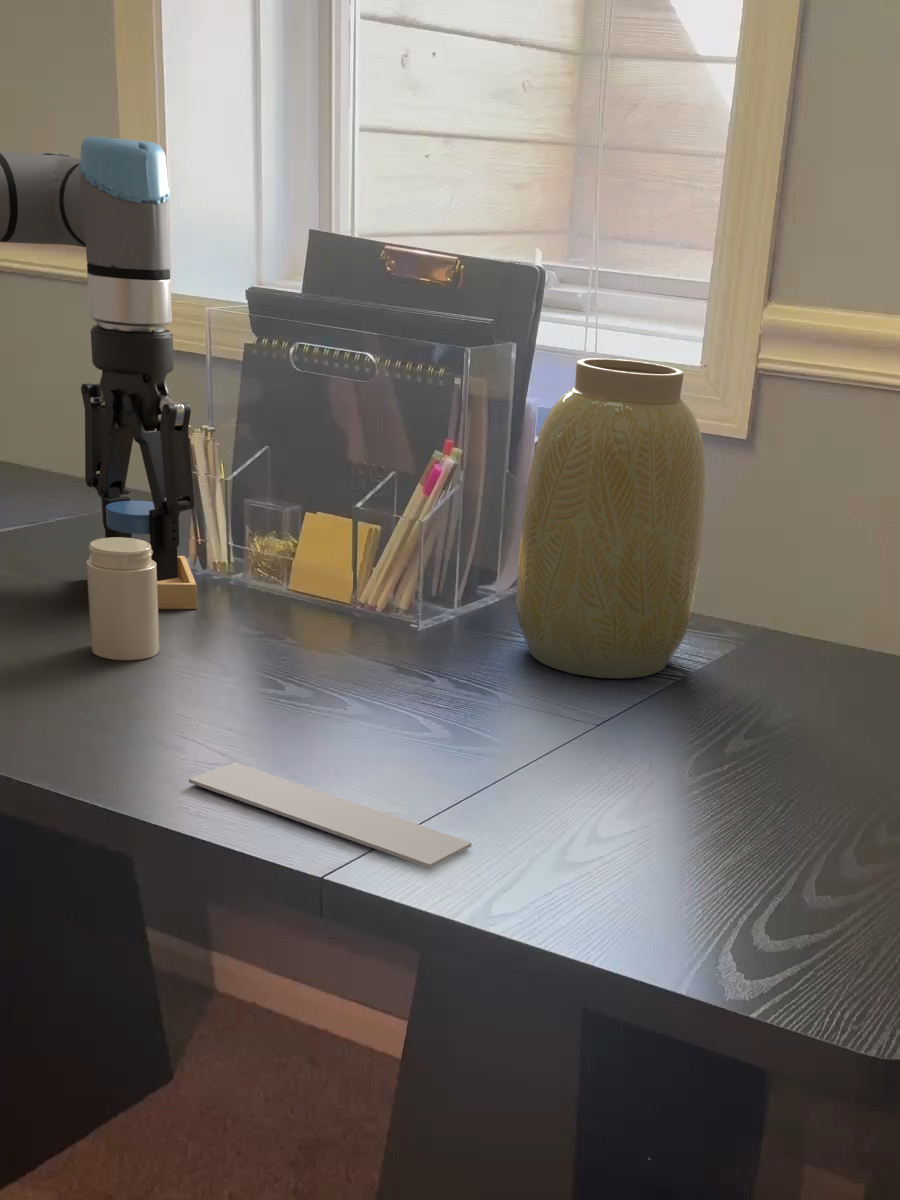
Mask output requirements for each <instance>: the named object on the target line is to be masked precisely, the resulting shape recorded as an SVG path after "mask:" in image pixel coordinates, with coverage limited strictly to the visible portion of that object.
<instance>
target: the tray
mask: <svg viewBox="0 0 900 1200" xmlns="http://www.w3.org/2000/svg"><path fill="white" fill-rule="evenodd" d="M90 558H91V555H90V554H89V559H90ZM177 558H178V578H173V579H167V580H162V581H157V591H158V610H197V609H198V592H197V591H198V590H197V586H198V585H197V583H196V579H195V578H194V575H193V572H192V570H191V567H190V565H189V562H188V560H187V558H186V556H185V555H177Z"/></svg>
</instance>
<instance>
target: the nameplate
mask: <svg viewBox="0 0 900 1200" xmlns="http://www.w3.org/2000/svg"><path fill="white" fill-rule="evenodd" d="M188 783H189V784H192V785H195V786H197V787H201V788H203V789H206V790H209V791H212V792H214V793H217V794H220V795H223V796H224V797H225V796H226V797H228V798H231V799H233V800H237V801H240V802H242V803H245V804H247V805H250V806H254V807H256V808H260V809H262V810H265V811H268V812H271V813H273V814H276V815H279V816H281V817H285V818H287V819H290V820H293V821H296V822H298V823H301V824H304V825H307V826H310V827H313V828H316V829H318V830H321V831H323V832H327V833H329V834H332V835H335V836H337V837H341V838H344V839H346V840H350V841H352V842H355V843H358V844H360V845H363V846H366V847H369V848H372V849H375V850H377V851H380V852H383V853H386V854H388V855H391V856H394V857H397V858H400V859H402V860H406V861H408V862H411V863H414V864H416V865H419V866H422V867H425V868H427V869H431V868H434V867H435V866H437V865H439V864H441V863H443V862H445V861H446V860H449V859H451V858H452V857H455V856H456V855H458V854H460V853H462V852H463V851H465V850H467V849H470V848H472V842H470V841H468V840H465V839H462V838H459V837H456V836H453V835H450V834H447V833H444V832H441V831H438V830H436V829H432V828H430V827H427V826H424V825H421V824H418V823H415V822H412V821H410V820H406V819H403V818H400V817H399V816H398V817H397V816H394V815H392V814H389V813H386V812H383V811H380V810H377V809H373V808H372V807H369V806H365V805H363V804H359V803H357V802H354V801H350V800H348V799H345V798H342V797H340V796H337V795H333V794H330V793H327V792H324V791H321V790H319V789H315V788H314V787H310V786H307V785H304V784H300V783H298V782H296V781H292V780H289V779H286V778H284V777H280V776H278V775H275V774H272V773H269V772H265V771H264V770H260V769H257V768H254V767H251V766H249V765H245V764H242V763H239V762H237V761H234V762H231V763H228V764H226V765H223V766H220V767H217V768H215V769H212V770H209V771H207V772H203V773H200V774H198V775H195V776H192V777H189V778H188Z"/></svg>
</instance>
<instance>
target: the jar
mask: <svg viewBox="0 0 900 1200" xmlns="http://www.w3.org/2000/svg"><path fill="white" fill-rule="evenodd" d="M88 550H89V552H90V553H89V556H90V555H91V558H90V557H89V558H87V560H86V562H85V565H86V567H85V568H86V581H87V582H86V583H87V598H88V615H89V630H90V631H89V632H90V634H89V635H90V647H91V652H92V654H93V655H95V656H97V657H100V658H103V659H108V660H113V661H140V660H147V659H150V658H153V657H155V656H157V655H158V654H160V650H161V649H160V648H161V647H160V623H159V622H160V621H159V609H158V591H157V564H156V562H155V561H154V560H152V554H153V551H152V549H151V545H150V542H148V541H146V540H143V539H138V538H133V537H132V538H123V537H111V538H105V537H102V538H97V539H94V540H92V541H91V542H90V543H89V546H88Z"/></svg>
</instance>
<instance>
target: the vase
mask: <svg viewBox="0 0 900 1200" xmlns="http://www.w3.org/2000/svg"><path fill="white" fill-rule="evenodd" d="M683 379H684V371H682V370H680V369H678V368H676V367H672V366H668V365H663V364H658V363H653V362H645V361H639V360H630V359H618V358H617V359H616V358H582V359H579V360H577V361H576V365H575V382H574V387H572V388H571V389H569V390H567V392H566V393H563V395H562V396H561V397H560V398H559V399H558V400H556V402H555V403H554V405H553V406H552V407H551V409H550V410H549V412H548V414H547V415H546V417H545V419H544V421H543V423H542V426H541V428H540V431H539V434H538V437H537V441H536V445H535V449H534V452H533V457H532V462H531V465H530V470H529V476H528V481H527V486H526V493H525V498H524V507H523V514H522V520H521V529H520V539H519V549H518V560H517V574H516V575H517V576H516V596H515V597H516V598H515V600H516V601H515V605H516V607H515V608H516V617H517V621H518V624H519V628H520V631H521V634H522V636H523V639H524V641H525V643H526V646H527V648H528V651H529V653H530V655H532V657H533V658H534V659H535V660H537V661H538V662H539V663H541V664H543V665H545V666H547V667H549V668H552V669H554V670H557V671H561V672H565V673H568V674H572V675H578V676H583V677H589V678H597V679H610V680H612V679H613V680H622V679H623V680H627V679H638V678H644V677H648V676H653V675H656V674H657V673H659V672H661V671H663V670H664V669H665V668H666V667H667V665H668V664H669V662H670V661H671V659H672V658H673V656H675V654H676V652H677V651H678V650H679V648H680V646H681V644H682V642H683V641H684V638H685V637H686V634H687V631H688V629H689V625H690V621H691V616H692V611H693V608H694V607H693V606H694V601H695V595H696V588H697V582H698V578H699V577H698V576H699V568H700V560H701V551H702V544H703V543H702V541H703V531H704V521H705V520H704V518H705V517H704V516H705V505H706V504H705V502H706V456H705V444H704V439H703V436H702V433H701V429H700V426H699V424H698V422H697V420H696V417H695V415H694V413H693V412H692V410H691V409H690V407H689V406H688V405H687V403H685V401H684V400H682V398H681V393H682V387H683V381H684V380H683Z"/></svg>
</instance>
